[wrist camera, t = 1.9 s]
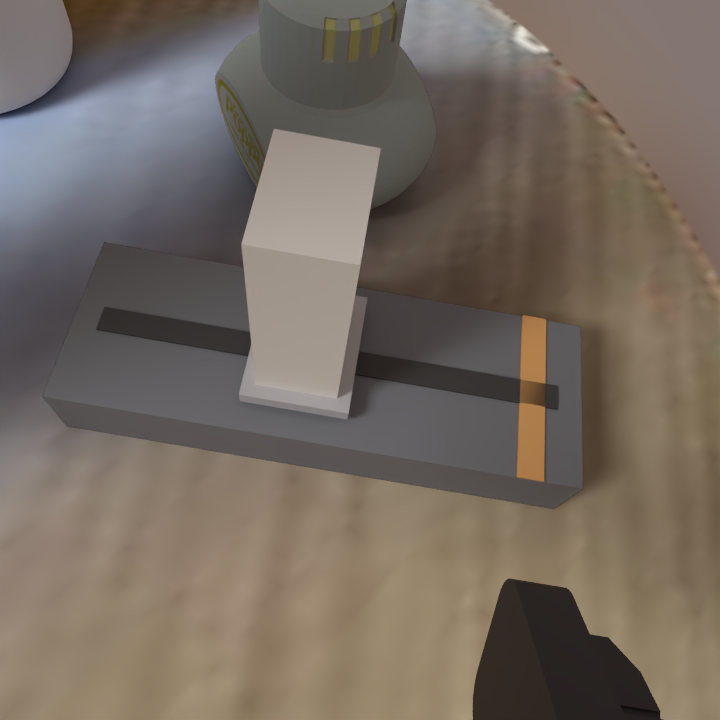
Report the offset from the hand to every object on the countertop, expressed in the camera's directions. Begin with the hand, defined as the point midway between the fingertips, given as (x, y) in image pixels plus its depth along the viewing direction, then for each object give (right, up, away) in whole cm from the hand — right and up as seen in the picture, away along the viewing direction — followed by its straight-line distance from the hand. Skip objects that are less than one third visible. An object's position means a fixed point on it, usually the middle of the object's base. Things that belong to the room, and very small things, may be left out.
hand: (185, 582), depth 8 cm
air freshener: (0, +13, +26) cm, 29 cm away
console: (+1, +2, +20) cm, 20 cm away
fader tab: (0, +3, +17) cm, 17 cm away
